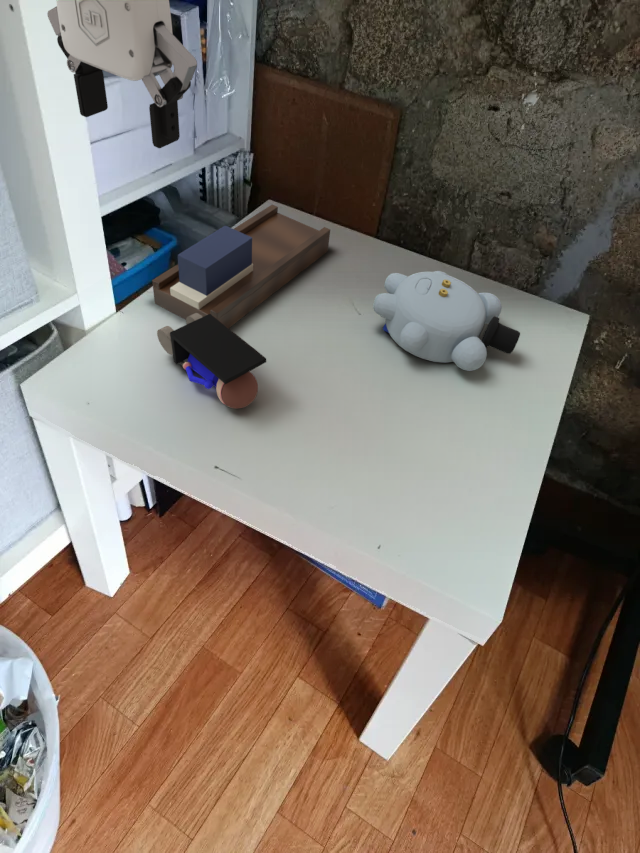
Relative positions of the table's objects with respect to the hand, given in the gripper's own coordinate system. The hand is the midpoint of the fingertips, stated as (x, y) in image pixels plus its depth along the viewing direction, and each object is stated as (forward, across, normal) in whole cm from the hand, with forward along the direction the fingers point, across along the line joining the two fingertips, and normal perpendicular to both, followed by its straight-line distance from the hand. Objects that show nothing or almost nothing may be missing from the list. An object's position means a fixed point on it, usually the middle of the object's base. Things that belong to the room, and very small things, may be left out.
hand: (129, 127), depth 64 cm
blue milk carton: (+25, 0, +12) cm, 28 cm away
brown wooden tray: (+28, 0, +20) cm, 35 cm away
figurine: (+28, +30, +26) cm, 49 cm away
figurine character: (+28, +10, -1) cm, 30 cm away
